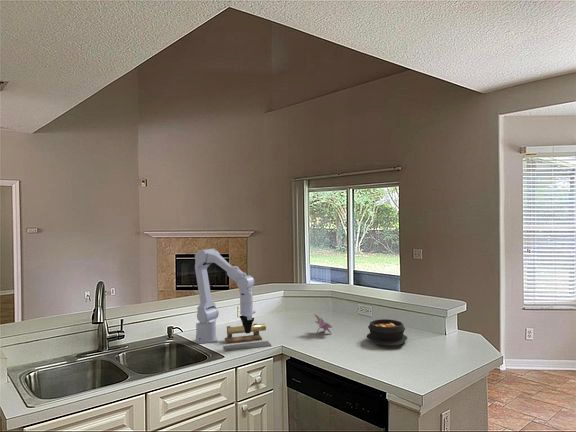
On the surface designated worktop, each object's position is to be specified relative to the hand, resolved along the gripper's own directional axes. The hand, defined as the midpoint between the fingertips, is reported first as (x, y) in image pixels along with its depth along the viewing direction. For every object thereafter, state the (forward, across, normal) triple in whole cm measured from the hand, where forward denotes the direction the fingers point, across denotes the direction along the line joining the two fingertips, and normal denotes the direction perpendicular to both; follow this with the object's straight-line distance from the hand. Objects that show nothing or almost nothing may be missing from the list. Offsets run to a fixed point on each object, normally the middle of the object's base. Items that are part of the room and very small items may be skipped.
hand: (247, 332), depth 193 cm
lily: (+7, +7, -39) cm, 41 cm away
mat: (+6, 0, 0) cm, 6 cm away
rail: (-2, 0, 0) cm, 2 cm away
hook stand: (+6, +10, 0) cm, 12 cm away
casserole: (+7, -15, -63) cm, 65 cm away
